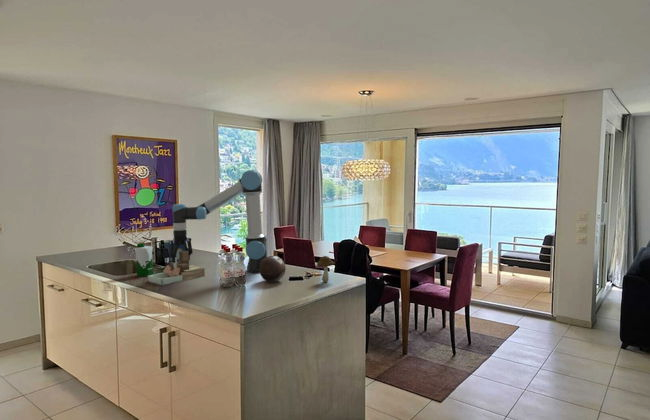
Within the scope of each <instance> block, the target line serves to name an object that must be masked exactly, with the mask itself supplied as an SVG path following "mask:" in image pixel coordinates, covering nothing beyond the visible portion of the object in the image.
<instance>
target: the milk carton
mask: <svg viewBox="0 0 650 420" xmlns="http://www.w3.org/2000/svg"><path fill="white" fill-rule="evenodd" d="M153 249H154V248H153V246H151V245H145V243H137V244H136V247H134V251H135V259H136V260H135V261H136V263H135V264H136V277H146V278H148V275H154V267H153V266H154V265H153Z"/></svg>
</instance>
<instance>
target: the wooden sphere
mask: <svg viewBox="0 0 650 420" xmlns="http://www.w3.org/2000/svg"><path fill="white" fill-rule="evenodd" d="M286 268H287V267H286V263H285V262H284V260H283V259H282V258H280V257H279V256H277V255H269V256H267V257H266V258H265V259H264V260H263V261H262V262H261V264H260V267H259V271H260V272H259V275H260V276H261V277H262V279H263V280H265V282H268V283H275V282H279V281H280V280H282V278H283V277H284V276H285V274H286Z"/></svg>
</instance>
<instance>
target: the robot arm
mask: <svg viewBox="0 0 650 420" xmlns="http://www.w3.org/2000/svg"><path fill="white" fill-rule="evenodd" d="M262 183H263V176H262V174H261V173H260V172H258V171H257V170H254V169H249V170H246V171H244V172H243V174H241V178H240V179H238V181H237V182H236V183H234V184H233V185H230V186H229V187H228V188H225V189H224V190H223V191H221V192H219V193H218V194H216V195H214V196H212V197H211V198H209V199H207V200H206V201H204V202H203V203H201V204H199V205H198V206H192V207H189V206H187V207H186V204H185V203H176V204H173V205H172V226H173V227H172V229H173V239H168V240H169V244H170V246H169V257H172V263H174V268H177V257H176V253H177V250H178V247H179V245H182V246H183V248H184V250H185V251H188V254H189V261H190V260H191V258H190V257H191V255H192V254H193V253H194V252H193V246H192V238H191V237H187V232H188V231H187V220H191V221H192V220H206V218H207V216H208V215H209V214H210V213H212V212H214V211H215V210H217V209H219V208H220V207H222V206H224V205H225V204H227V203H229V202H231V201H232V200H235V198H238V197H239V196H241V195H242V194H243V195H244V196H245V208H246V209H245V210H246V221H247V223H246V224H247V226H246V227H247V235H246V236H245V246H246V247H245V254H246V255H247V257H248V262H247V266H246V272H247V273H253V274H255V273H256V274H257V273H259V274H260V271H259V267H260V264H261V262H262V261H263V260H264V259H265V258H266V257H268V245H267V243H268V242H267V240H268V239H267V235H265V234H264V233H263V227H262V225H263V224H262V211H261V209H262V208H261V193H262V192H263V188H262V187H263V186H262ZM186 240H187V244H186ZM174 242H175V245H174V244H173V243H174ZM173 246H175V247H174V250H173Z"/></svg>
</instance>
